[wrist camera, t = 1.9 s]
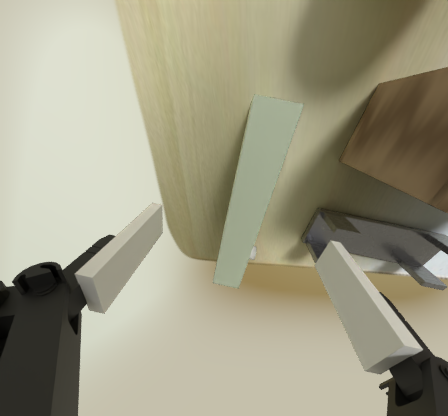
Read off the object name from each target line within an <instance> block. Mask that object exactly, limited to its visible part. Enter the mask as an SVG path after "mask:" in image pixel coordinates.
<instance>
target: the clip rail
mask: <svg viewBox="0 0 448 416" xmlns="http://www.w3.org/2000/svg"><path fill="white" fill-rule="evenodd" d="M301 239H302V242H303V243H306V245H307V247H308V249H309V251H310V253H311V256H312V258H313V260H314V262H315V263H316V262H317V261H318V259H319V257H320V256H321V254H322V253H323V251H324V250H325V248H326V247H327V245H328V243H329V242H330V240H331V241H336V242H341V244H342V245H343V246H344V248H345V249H346V250H347V252H349V253H353V254H358V255H363V256H368V257H372V258H377V259H382V260H386V261H391V262H396V263H398V264H399V265H400V266H402V267H403V268H404V269H405V270H406V271H407V272H408V273H409V274H410V275H411V276H412V277H413V278H414V279H415V280H416V281H417V282H418V283H419V284H420V285H421V286H425V287H430V288H434V289H439V290H444V289H445V288H447V286H446V285H445V284H444V283H443V282H441V281H440V280H439V279H438V278H437V277H436V276H434V275H433V274H432V273H431V272H430V271H429V270H427V269H426V268H425V267H424V266H423V265H424V264H425V263H426V262H427V261H429V260H430V259H431V258H432V257H433V256H434V255H436V254H437V253H438V252H439V251H440V250H442V251H443V252H445V253H446V254H448V236H446V235H443V234H438V233H433V232H429V231H424V230H419V229H414V228H410V227H405V226H400V225H395V224H391V223H386V222H381V221H376V220H372V219H367V218H362V217H357V216H353V215H348V214H343V213H338V212H334V211H329V210H324V209H319V208H317V210H316V212H315V214H314V216H313V218H312V219H311V221H310V223H309V225H308V227H307V229H306V231H305V233H304V234H303V236H302V238H301Z"/></svg>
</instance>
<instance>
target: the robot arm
mask: <svg viewBox="0 0 448 416" xmlns="http://www.w3.org/2000/svg"><path fill="white" fill-rule="evenodd" d="M161 234H162V205H160V204H156V203H152V204H151V205H150V206H149V207H147V208H146V209H145V210H144V211H143V212H142V213H141V214H140V215H139V216H138V217H136V218H135V219H134V220H133V221H132V222H131V223H130V224H129V225H128V226H127V227H125V228H124V229H123V230H122V231H121V232H120V233H119V234H118V235H117V236H113V235H108V236H106V237H104V238H101V239H100V240H98V241H97V242H96V243H95V244H94V245H92V247H90V248H89V249H88V250H86V252H84V253H83V254H82V255H80V256H79V257H78V258H77V259H76V260H74V261H73V262H72V263H71V264H70V265H68V266H67V267H66V268H65V269H64V270H62V268H61V266H60V265H59V264H58V263H55V262H44V263H40V264H37V265H34V266H31V267H29V268H27V269H25V270H23V271H22V272H21V273H19V274H18V275H17V276H16V277H15V278H14V280H13V281H12V283H13V284H14V285H15V286H11V287H6V286H5V285H4V283H3V282H2V281H0V416H78V397H79V369H80V344H81V316H82V314H81V310H82V308H84V306H85V305H86V304H87V306H88V308H89V310H90V311H95V312H99V313H105V312H106V311H107V309H108V307H109V306H110V305H111V303H112V302H113V301H114V299H115V298H116V297H117V295H118V294H119V293H120V291H121V290H122V288H123V287H124V286H125V284H126V283H127V281H128V280H129V279H130V277H131V276H132V274H133V273H134V271H135V270H136V269H137V268H138V266H139V265H140V263H141V262H142V261H143V259H144V258H145V256H146V255H147V253H148V252H149V251H150V249H151V248H152V247H153V245H154V244H155V243H156V241H157V240H158V238H159V237H160V236H161ZM315 267H316V270H317V272H318V274H319V276H320V278H321V280H322V282H323V284H324V286H325V288H326V291H327V293H328V295H329V297H330V299H331V301H332V303H333V305H334V307H335V309H336V311H337V314H338V316H339V318H340V320H341V322H342V324H343V326H344V328H345V330H346V333H347V334H348V337H349V339H350V341H351V343H352V345H353V347H354V349H355V352H356V354H357V356H358V358H359V360H360V362H361V364H362V366H363V368H364V370H365V371H367V372H372V373H377V374H382V373H383V372H385V371H387V370H390V372H391V374H392V375H393V378H391V379H389V380H387V381H385V382H383V383H381V384H380V386H379V388H380V389H381V390H382V389H384V388H386V387H389V391H388V392H386V394H387V395H388V407H387V416H448V362H447V361H445V360H443V359H442V358H439V357H435V356H434V355H433V354H432V352H431V351H430V350H429V349H428V347H427V346H426V345H425V344H424V342H423V341H422V340H421V339H420V337H419V336H418V335H417V334H416V332H415V331H414V330H413V329H412V327H411V326H410V325H409V324H408V322H407V321H405V319H404V317H403V316H402V315H401V314H400V313H399V312H398V310H397V309H396V307H395V306H394V305H393V304H392V303H391V301H390V300H389V299H388V298H387V297H385V296H384V295H383V294H382V293H381V292H378V290H377V289H376V288H375V287H374V285H373V284H372V283H371V281H370V280H369V279H368V277H367V276H366V275H365V274H364V272H363V271H362V270H361V268H360V267H359V266H358V264H357V263H356V262H355V261H354V259H353V258H352V257H351V255H350V254H349V253H348V252H347V250H346V249H345V248H344V246H343V245H342V244H341V242H336V241H331V240H330V242H329V243H328V245H327V247H326V248H325V250H324V251H323V253H322V254H321V256H320V257H319V259H318V261H317V262H316V264H315Z"/></svg>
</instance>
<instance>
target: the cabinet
mask: <svg viewBox="0 0 448 416" xmlns="http://www.w3.org/2000/svg"><path fill="white" fill-rule="evenodd" d="M339 161H340V162H343V163H345V164H347V165H349V166H351V167H353V168H355V169H357V170H359V171H361V172H363V173H365V174H367V175H369V176H371V177H373V178H376V179H378V180H380V181H382V182H384V183H386V184H388V185H390V186H392V187H394V188H396V189H398V190H400V191H402V192H404V193H407V194H409V195H411V196H413V197H415V198H417V199H419V200H421V201H423V202H425V203H427V204H429V205H431V206H433V207H435V208H438V209H440V210H442V211H444V212H446V213H448V67H446V68H442V69H438V70H434V71H429V72H425V73H421V74H417V75H413V76H409V77H405V78H401V79H396V80H392V81H388V82H384V83H380V84H379V85H378V87H377V89H376V91H375V92H374V94H373V96H372V98H371V100H370V102H369V104H368V106H367V108H366V110H365V112H364V113H363V115H362V117H361V119H360V121H359V123H358V125H357V127H356V129H355V131H354V133H353V134H352V136H351V138H350V140H349V142H348V144H347V146H346V148H345V150H344V152H343V154H342V155H341V157H340V159H339Z"/></svg>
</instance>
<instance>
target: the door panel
mask: <svg viewBox="0 0 448 416" xmlns="http://www.w3.org/2000/svg"><path fill="white" fill-rule="evenodd" d="M303 106H304V104H301V103H296V102H291V101H286V100H281V99H276V98H271V97H266V96H261V95H256V94H254V97H253V99H252V102H251V105H250V109H249V114H248V118H247V123H246V128H245V132H244V137H243V142H242V146H241V151H240V155H239V160H238V165H237V169H236V174H235V178H234V183H233V188H232V192H231V197H230V201H229V206H228V211H227V215H226V220H225V224H224V229H223V234H222V239H221V244H220V249H219V254H218V259H217V264H216V269H215V274H214V279H213V283H215V284H219V285H224V286H229V287H233V288H239V286H240V283H241V280H242V277H243V274H244V272H245V269H246V266H247V263H248V261H249V259H252V260H254V259H255V256H256V246H254V244H255V241H256V238H257V235H258V232H259V230H260V227H261V224H262V221H263V218H264V216H265V213H266V210H267V207H268V204H269V202H270V199H271V196H272V193H273V190H274V188H275V185H276V182H277V179H278V176H279V174H280V171H281V168H282V165H283V162H284V160H285V157H286V154H287V151H288V148H289V146H290V143H291V140H292V137H293V134H294V132H295V129H296V126H297V123H298V120H299V118H300V115H301V112H302V109H303Z"/></svg>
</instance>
